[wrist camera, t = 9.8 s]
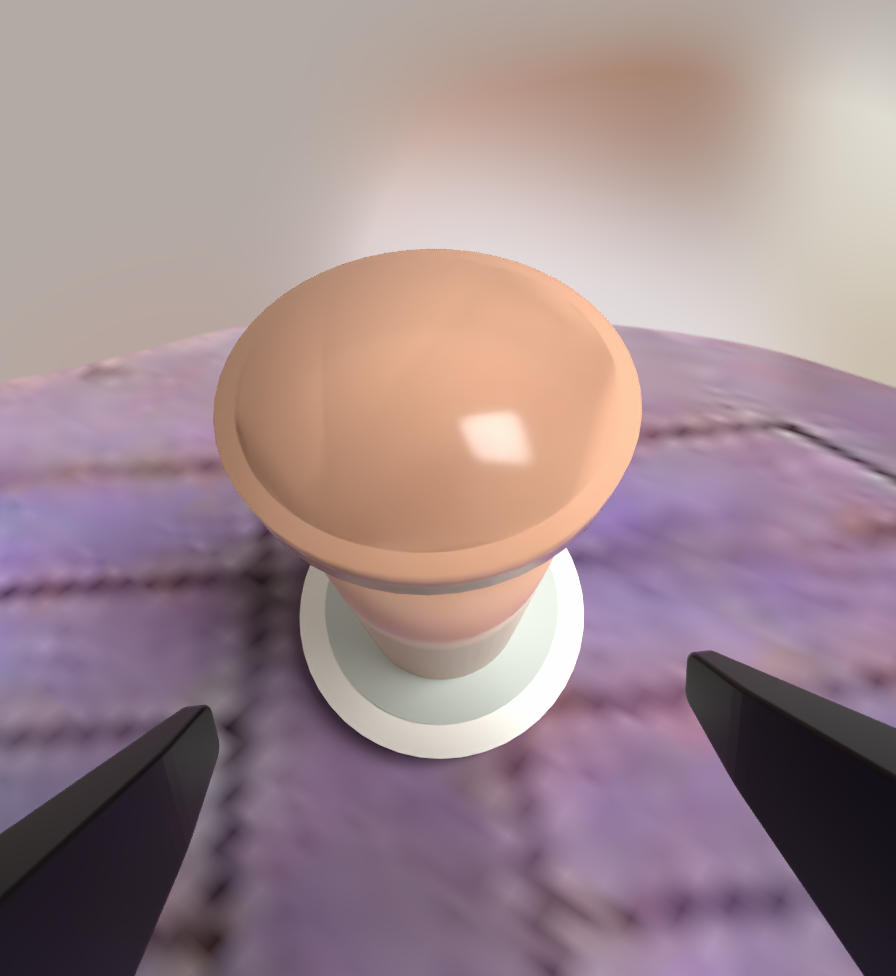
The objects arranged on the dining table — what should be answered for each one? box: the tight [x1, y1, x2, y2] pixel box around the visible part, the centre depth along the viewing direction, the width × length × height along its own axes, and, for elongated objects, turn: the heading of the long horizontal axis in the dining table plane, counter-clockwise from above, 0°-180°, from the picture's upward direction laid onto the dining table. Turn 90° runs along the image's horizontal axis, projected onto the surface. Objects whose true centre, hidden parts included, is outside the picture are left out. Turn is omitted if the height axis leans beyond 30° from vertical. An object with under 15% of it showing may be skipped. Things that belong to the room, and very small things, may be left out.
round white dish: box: [300, 548, 584, 759], centre depth 18 cm, size 11×11×2 cm
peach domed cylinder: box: [213, 249, 642, 680], centre depth 12 cm, size 7×7×12 cm
